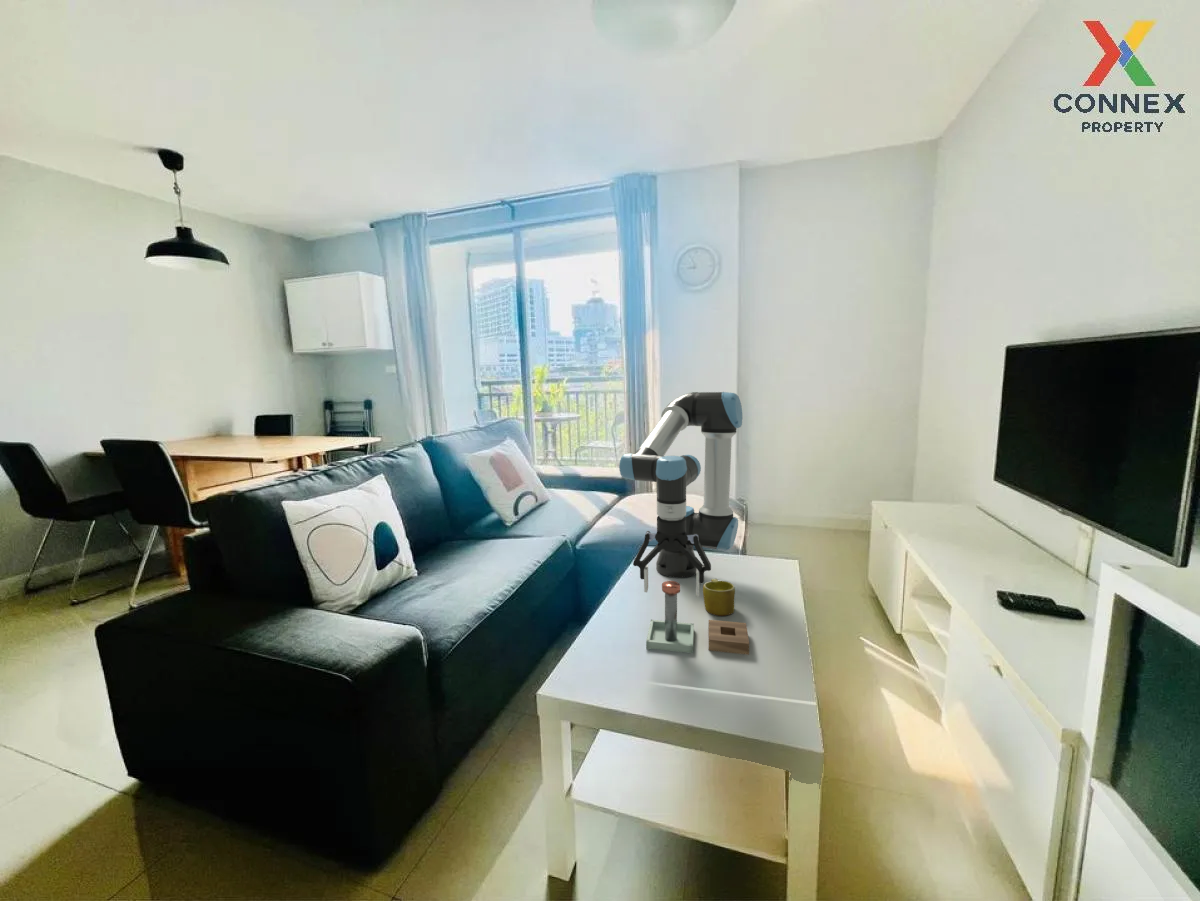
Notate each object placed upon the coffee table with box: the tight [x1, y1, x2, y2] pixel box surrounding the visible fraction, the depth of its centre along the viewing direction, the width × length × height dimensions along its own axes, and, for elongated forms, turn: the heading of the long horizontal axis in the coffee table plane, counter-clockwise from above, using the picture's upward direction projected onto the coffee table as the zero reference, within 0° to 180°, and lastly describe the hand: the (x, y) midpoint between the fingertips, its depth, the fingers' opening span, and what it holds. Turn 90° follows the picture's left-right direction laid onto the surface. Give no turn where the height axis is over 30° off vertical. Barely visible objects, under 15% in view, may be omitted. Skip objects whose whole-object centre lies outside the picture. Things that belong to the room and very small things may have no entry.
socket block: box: [707, 619, 750, 656], centre depth 124 cm, size 10×10×4 cm
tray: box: [645, 619, 695, 654], centre depth 126 cm, size 11×12×2 cm
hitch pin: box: [661, 580, 681, 642], centre depth 125 cm, size 5×5×16 cm
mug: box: [702, 578, 736, 617], centre depth 142 cm, size 12×10×10 cm
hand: (671, 591), depth 125 cm, fingers open, 13 cm apart
